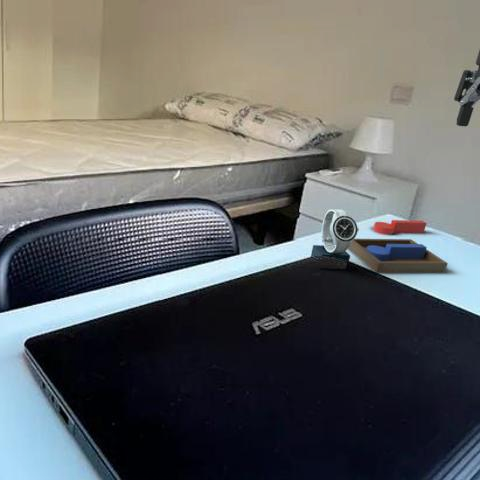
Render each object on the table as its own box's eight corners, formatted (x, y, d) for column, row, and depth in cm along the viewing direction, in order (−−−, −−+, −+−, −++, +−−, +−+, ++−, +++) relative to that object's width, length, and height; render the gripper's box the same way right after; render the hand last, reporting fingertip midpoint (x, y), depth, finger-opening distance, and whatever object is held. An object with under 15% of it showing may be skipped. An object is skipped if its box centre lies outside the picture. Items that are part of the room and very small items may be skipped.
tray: (408, 248, 107) (411, 239, 107) (444, 272, 97) (447, 263, 96) (346, 247, 105) (348, 238, 104) (376, 273, 94) (379, 263, 94)
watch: (323, 274, 92) (336, 218, 88) (306, 255, 99) (317, 203, 95) (351, 275, 93) (366, 219, 88) (333, 256, 100) (345, 204, 96)
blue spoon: (414, 252, 104) (417, 241, 103) (427, 262, 100) (431, 250, 99) (360, 252, 101) (363, 240, 100) (372, 261, 98) (375, 249, 96)
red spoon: (415, 228, 119) (418, 218, 118) (427, 235, 115) (430, 225, 114) (369, 227, 117) (372, 217, 116) (379, 235, 113) (382, 224, 112)
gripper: (559, 43, 84) (524, 139, 90) (494, 39, 97) (467, 124, 103) (521, 39, 83) (488, 137, 89) (460, 36, 95) (435, 122, 102)
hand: (477, 130), depth 96 cm, fingers open, 8 cm apart
